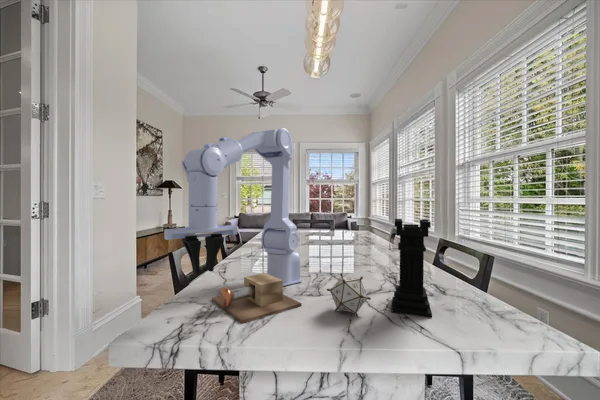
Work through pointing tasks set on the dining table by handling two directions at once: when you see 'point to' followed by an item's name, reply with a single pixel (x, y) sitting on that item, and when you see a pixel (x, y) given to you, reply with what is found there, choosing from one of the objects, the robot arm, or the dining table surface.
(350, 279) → the game die
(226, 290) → the pin
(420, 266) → the chess piece
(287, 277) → the robot arm
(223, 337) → the dining table surface
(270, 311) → the block
